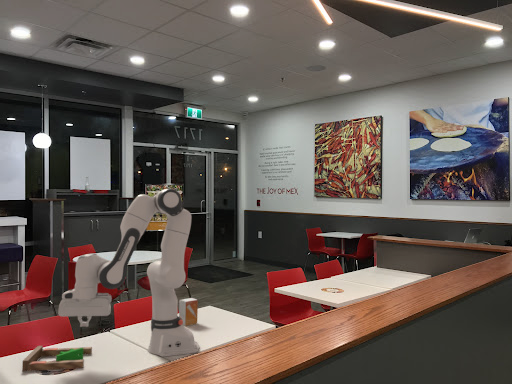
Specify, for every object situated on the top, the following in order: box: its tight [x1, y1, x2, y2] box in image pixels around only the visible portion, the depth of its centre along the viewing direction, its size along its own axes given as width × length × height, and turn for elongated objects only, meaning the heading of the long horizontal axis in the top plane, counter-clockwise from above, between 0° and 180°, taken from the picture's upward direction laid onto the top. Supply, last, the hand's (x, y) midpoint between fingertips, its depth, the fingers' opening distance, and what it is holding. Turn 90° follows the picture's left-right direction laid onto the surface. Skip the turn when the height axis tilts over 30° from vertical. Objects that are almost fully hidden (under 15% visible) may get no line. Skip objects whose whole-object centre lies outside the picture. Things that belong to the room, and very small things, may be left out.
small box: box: [178, 297, 199, 327], centre depth 226 cm, size 8×6×13 cm
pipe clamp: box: [55, 347, 84, 361], centre depth 171 cm, size 11×4×5 cm, turn 145°
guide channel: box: [21, 345, 93, 372], centre depth 171 cm, size 22×17×4 cm
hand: (84, 326), depth 173 cm, fingers closed
